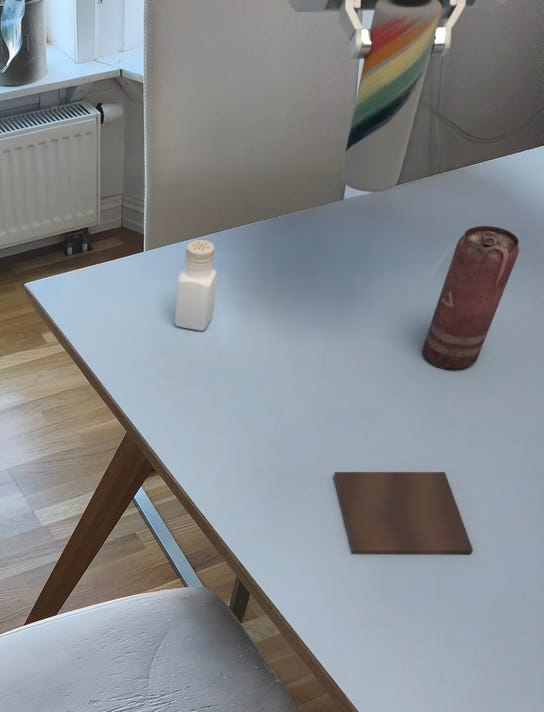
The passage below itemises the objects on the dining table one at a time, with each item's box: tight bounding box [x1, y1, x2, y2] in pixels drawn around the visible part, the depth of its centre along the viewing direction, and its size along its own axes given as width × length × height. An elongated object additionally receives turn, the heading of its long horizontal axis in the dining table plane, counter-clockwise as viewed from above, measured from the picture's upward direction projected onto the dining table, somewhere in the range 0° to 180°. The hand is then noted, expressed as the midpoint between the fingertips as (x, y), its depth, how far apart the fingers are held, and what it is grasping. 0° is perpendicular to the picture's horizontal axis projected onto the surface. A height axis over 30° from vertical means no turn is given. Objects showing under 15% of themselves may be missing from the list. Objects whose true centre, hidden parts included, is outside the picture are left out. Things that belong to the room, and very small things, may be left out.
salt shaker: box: [174, 239, 218, 332], centre depth 104 cm, size 4×4×10 cm
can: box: [422, 225, 520, 371], centre depth 96 cm, size 6×6×14 cm
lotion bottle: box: [340, 0, 442, 193], centre depth 81 cm, size 6×6×20 cm
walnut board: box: [333, 471, 474, 555], centre depth 85 cm, size 11×11×1 cm
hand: (400, 54), depth 80 cm, fingers closed on lotion bottle, 5 cm apart
